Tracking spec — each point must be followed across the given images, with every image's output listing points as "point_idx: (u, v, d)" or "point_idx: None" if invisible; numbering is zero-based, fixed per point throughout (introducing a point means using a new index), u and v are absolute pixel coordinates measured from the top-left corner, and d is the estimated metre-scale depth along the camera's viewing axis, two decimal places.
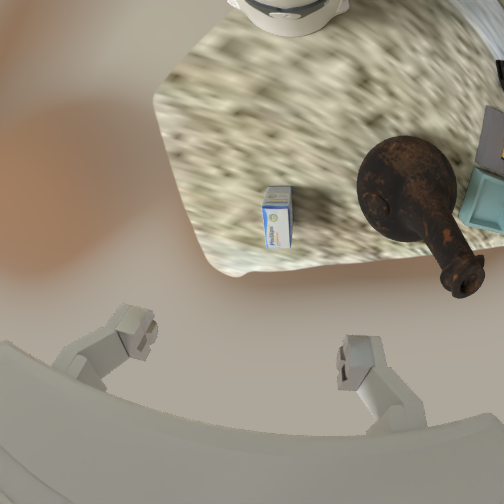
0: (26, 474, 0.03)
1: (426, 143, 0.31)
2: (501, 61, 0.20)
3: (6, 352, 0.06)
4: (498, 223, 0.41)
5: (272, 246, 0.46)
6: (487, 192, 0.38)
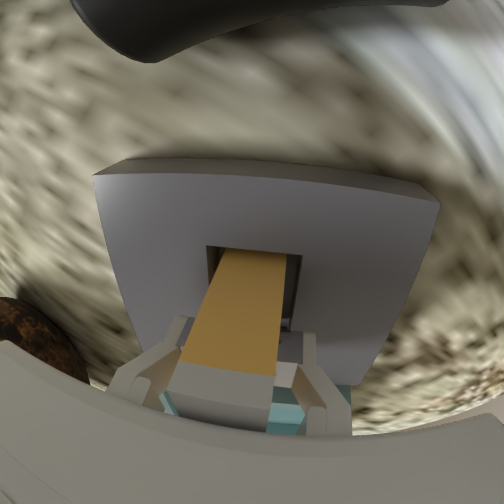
0: (26, 474, 0.03)
1: None
2: None
3: (6, 352, 0.06)
4: None
5: None
6: None
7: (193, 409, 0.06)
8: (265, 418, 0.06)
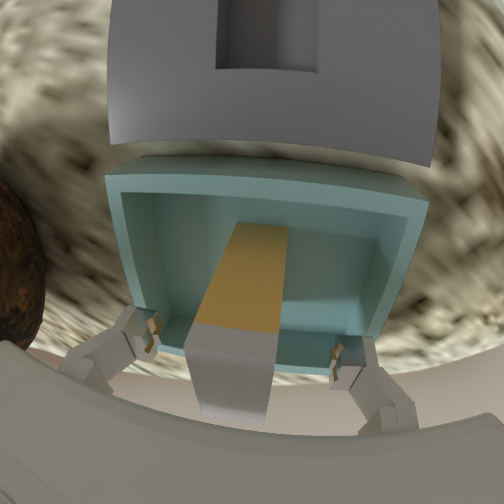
0: (26, 474, 0.03)
1: None
2: None
3: (6, 352, 0.06)
4: None
5: None
6: None
7: (205, 367, 0.08)
8: (271, 373, 0.07)
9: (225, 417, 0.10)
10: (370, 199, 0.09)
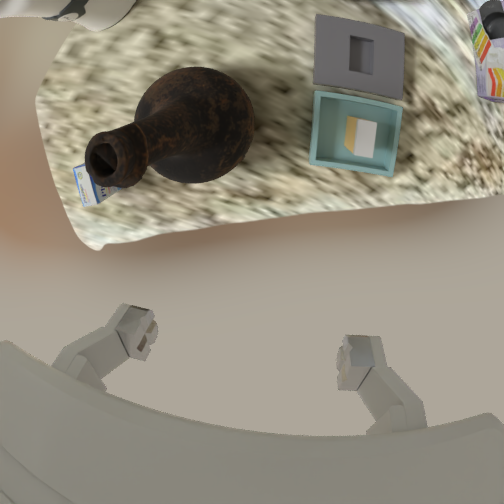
0: (26, 474, 0.03)
1: (191, 67, 0.29)
2: None
3: (6, 352, 0.06)
4: (385, 165, 0.39)
5: (86, 204, 0.42)
6: None
7: (362, 126, 0.30)
8: (376, 127, 0.30)
9: (361, 154, 0.32)
10: (387, 105, 0.32)
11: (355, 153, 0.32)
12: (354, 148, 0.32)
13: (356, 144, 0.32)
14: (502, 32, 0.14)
